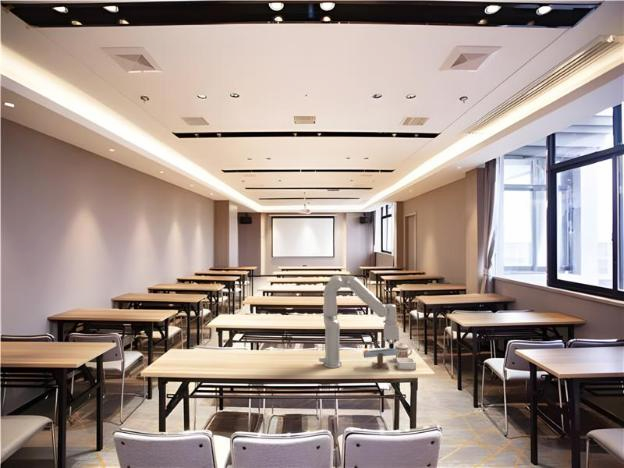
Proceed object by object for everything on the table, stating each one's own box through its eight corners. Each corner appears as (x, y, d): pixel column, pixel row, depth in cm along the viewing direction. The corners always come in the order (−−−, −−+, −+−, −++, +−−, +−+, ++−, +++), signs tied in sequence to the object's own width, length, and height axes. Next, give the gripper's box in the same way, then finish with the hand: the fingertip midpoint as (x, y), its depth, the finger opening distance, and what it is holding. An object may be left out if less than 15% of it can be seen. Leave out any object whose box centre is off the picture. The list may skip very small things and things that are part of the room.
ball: (365, 355, 243) (363, 351, 243) (365, 354, 247) (363, 349, 247) (370, 354, 243) (368, 349, 243) (369, 352, 246) (368, 348, 246)
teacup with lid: (397, 361, 253) (397, 344, 253) (393, 357, 262) (393, 341, 262) (414, 360, 254) (414, 344, 254) (409, 356, 263) (409, 340, 263)
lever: (363, 357, 242) (363, 353, 242) (363, 351, 255) (362, 347, 255) (397, 355, 240) (396, 350, 240) (394, 349, 253) (394, 345, 253)
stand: (373, 369, 239) (373, 354, 239) (372, 363, 250) (371, 349, 250) (388, 369, 238) (388, 354, 238) (386, 363, 249) (386, 349, 249)
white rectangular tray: (398, 369, 238) (398, 362, 238) (396, 364, 247) (396, 357, 247) (415, 369, 237) (415, 362, 237) (413, 364, 246) (413, 358, 246)
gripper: (380, 323, 246) (380, 350, 246) (402, 323, 245) (403, 351, 245) (379, 321, 254) (379, 347, 254) (401, 321, 252) (401, 347, 252)
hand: (391, 349), depth 249 cm, fingers closed
